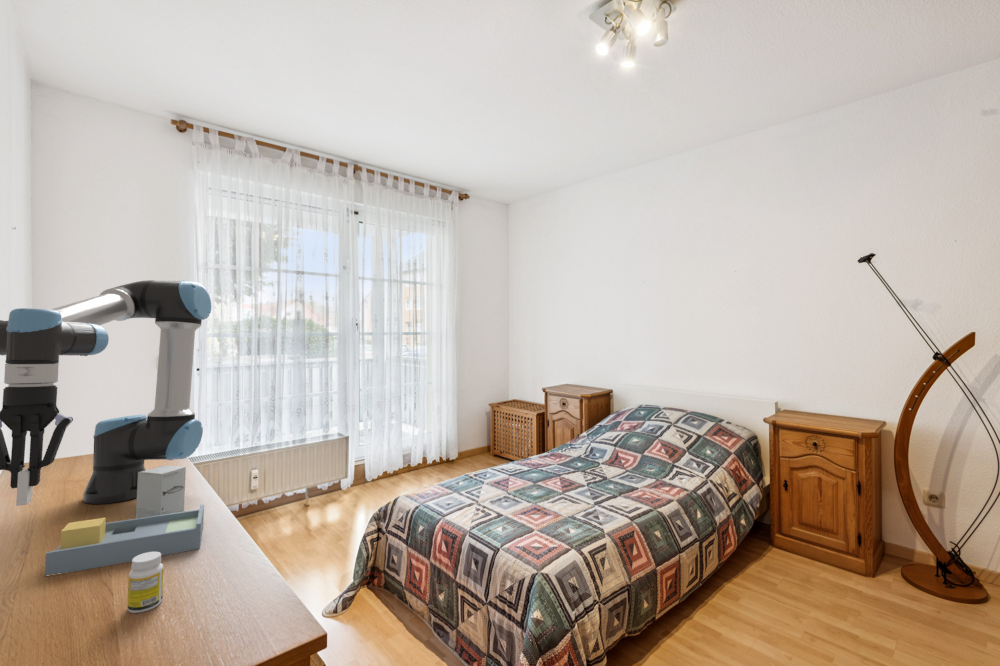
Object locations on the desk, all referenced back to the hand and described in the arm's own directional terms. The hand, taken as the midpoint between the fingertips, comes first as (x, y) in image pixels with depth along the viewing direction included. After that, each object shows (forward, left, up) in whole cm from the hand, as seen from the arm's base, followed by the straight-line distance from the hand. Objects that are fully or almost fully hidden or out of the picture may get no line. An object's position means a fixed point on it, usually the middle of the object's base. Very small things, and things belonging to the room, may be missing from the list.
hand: (24, 503), depth 89 cm
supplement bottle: (+28, +23, -13) cm, 38 cm away
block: (0, +9, -10) cm, 14 cm away
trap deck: (0, +17, -13) cm, 22 cm away
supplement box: (-19, +20, -13) cm, 31 cm away
